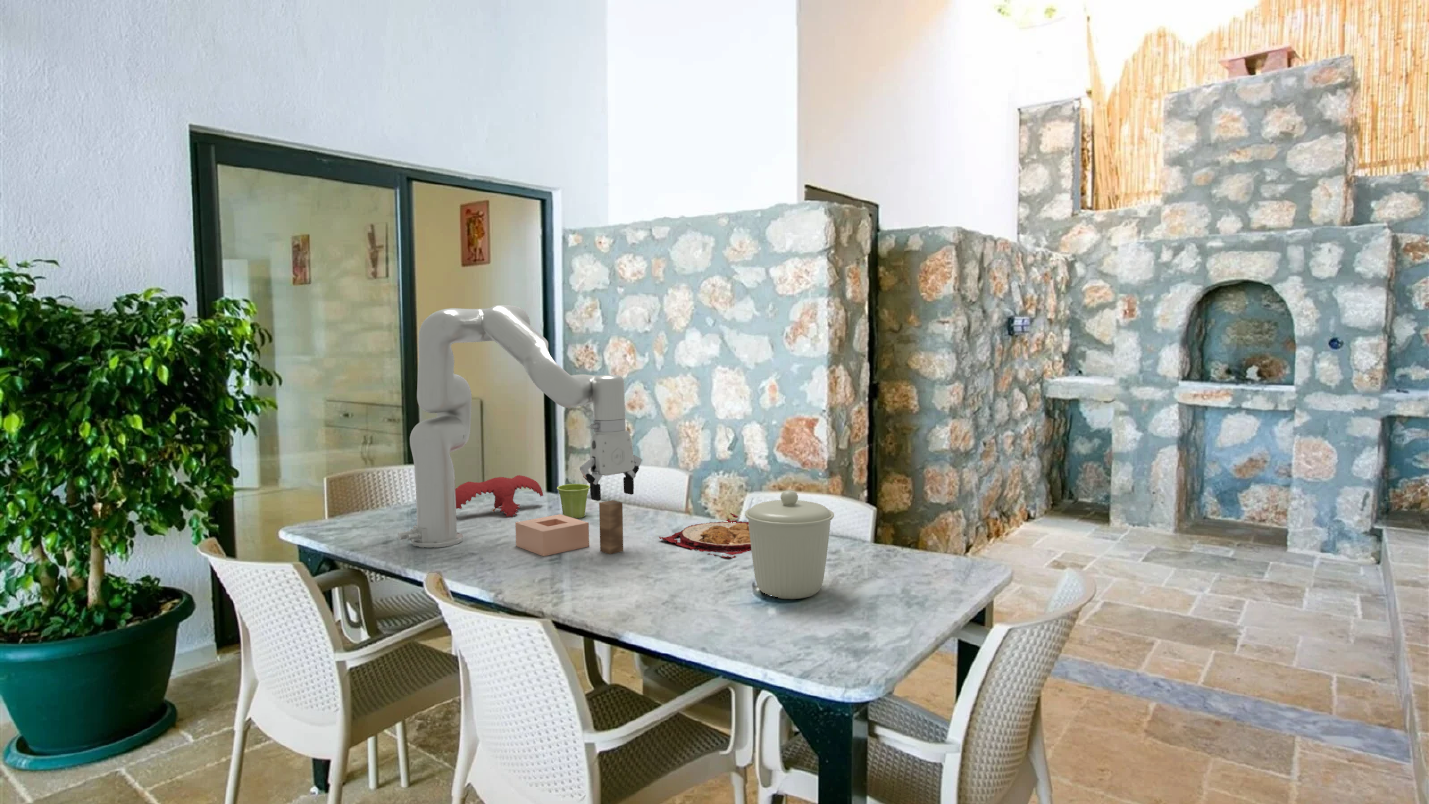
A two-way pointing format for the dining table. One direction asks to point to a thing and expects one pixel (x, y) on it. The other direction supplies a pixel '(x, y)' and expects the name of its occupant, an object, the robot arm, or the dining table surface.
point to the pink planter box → (552, 534)
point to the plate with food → (715, 537)
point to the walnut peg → (611, 526)
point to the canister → (789, 545)
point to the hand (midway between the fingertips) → (612, 496)
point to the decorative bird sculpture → (497, 492)
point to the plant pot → (573, 499)
